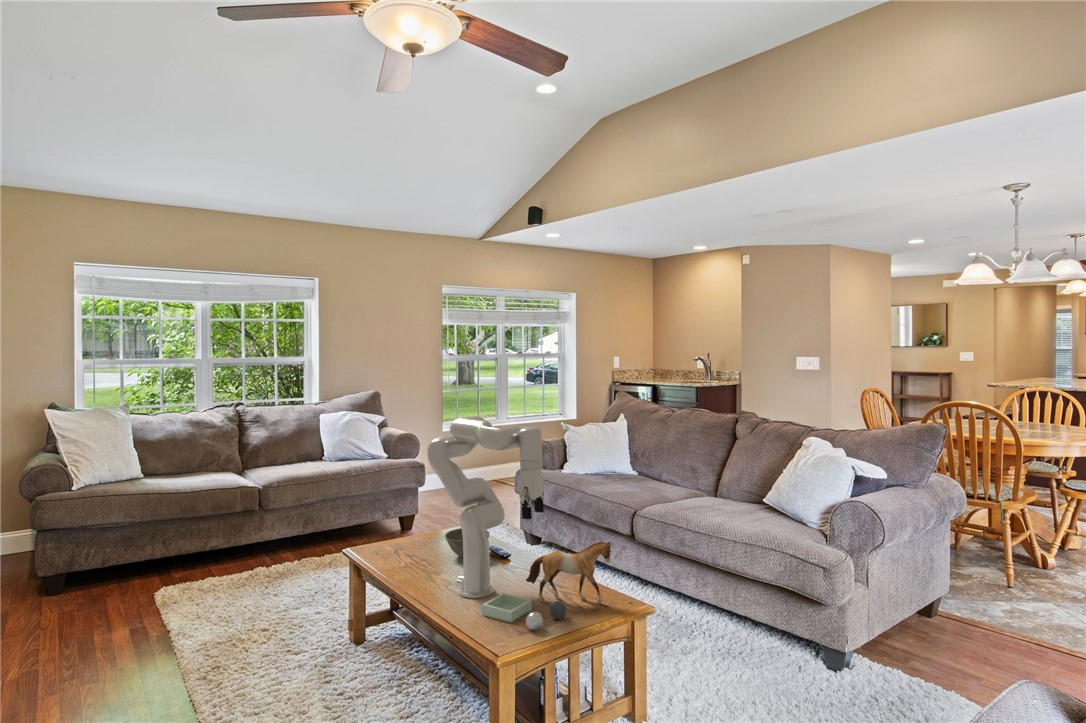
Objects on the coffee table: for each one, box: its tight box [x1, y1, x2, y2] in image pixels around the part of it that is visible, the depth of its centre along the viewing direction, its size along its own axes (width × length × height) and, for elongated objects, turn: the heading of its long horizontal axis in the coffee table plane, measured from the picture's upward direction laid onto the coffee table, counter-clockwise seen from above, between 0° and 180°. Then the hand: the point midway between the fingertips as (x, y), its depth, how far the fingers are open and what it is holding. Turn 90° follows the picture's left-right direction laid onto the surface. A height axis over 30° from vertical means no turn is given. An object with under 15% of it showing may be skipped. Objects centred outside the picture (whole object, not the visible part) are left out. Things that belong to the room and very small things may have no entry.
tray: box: [481, 592, 533, 624], centre depth 217 cm, size 12×12×4 cm
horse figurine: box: [525, 541, 613, 605], centre depth 227 cm, size 31×8×21 cm, turn 81°
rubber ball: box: [549, 600, 568, 620], centre depth 212 cm, size 6×6×6 cm
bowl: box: [444, 527, 490, 559], centre depth 275 cm, size 19×19×10 cm
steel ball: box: [525, 611, 544, 631], centre depth 204 cm, size 6×6×6 cm
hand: (533, 515), depth 217 cm, fingers open, 9 cm apart
